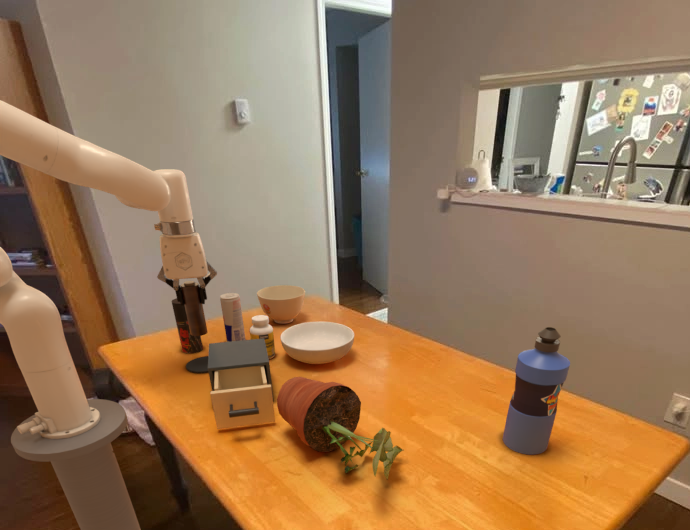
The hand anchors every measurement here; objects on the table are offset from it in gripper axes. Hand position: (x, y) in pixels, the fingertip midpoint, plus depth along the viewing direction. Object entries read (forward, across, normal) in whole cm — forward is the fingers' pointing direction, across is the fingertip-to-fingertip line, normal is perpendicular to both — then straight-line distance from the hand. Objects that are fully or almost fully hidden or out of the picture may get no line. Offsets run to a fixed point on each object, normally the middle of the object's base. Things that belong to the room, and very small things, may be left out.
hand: (193, 302), depth 119 cm
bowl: (+18, +25, +30) cm, 44 cm away
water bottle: (+18, +66, -56) cm, 88 cm away
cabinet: (+18, +10, -18) cm, 27 cm away
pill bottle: (+18, +16, +2) cm, 25 cm away
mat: (+18, 0, 0) cm, 18 cm away
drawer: (+17, +10, -31) cm, 37 cm away
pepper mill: (+8, 0, 0) cm, 8 cm away
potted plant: (+18, +29, -52) cm, 62 cm away
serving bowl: (+18, +32, -2) cm, 37 cm away
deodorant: (+18, -4, +12) cm, 22 cm away
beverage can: (+18, +9, +14) cm, 25 cm away
